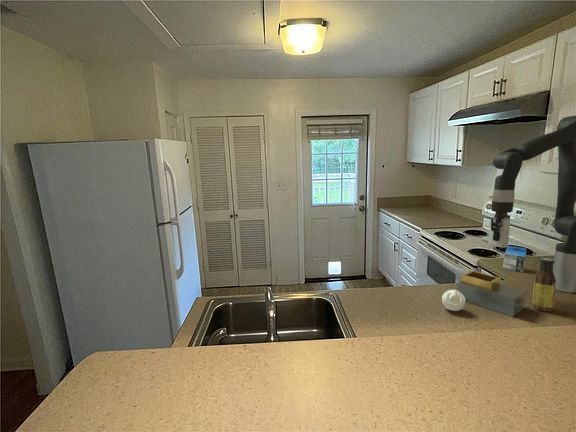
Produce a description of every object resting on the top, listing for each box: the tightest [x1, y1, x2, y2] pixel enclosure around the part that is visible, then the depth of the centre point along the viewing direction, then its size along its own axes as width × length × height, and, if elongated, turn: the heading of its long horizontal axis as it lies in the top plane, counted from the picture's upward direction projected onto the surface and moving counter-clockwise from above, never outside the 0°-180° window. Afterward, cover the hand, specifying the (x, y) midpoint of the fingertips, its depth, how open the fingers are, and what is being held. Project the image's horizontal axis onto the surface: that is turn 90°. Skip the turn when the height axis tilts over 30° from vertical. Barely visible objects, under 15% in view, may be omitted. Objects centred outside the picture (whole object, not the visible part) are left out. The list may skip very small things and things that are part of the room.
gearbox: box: [457, 270, 527, 317], centre depth 123 cm, size 12×20×10 cm, turn 36°
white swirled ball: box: [441, 289, 466, 312], centre depth 117 cm, size 8×8×8 cm
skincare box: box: [488, 217, 511, 249], centre depth 131 cm, size 6×4×12 cm
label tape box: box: [502, 245, 527, 273], centre depth 161 cm, size 9×4×12 cm, turn 43°
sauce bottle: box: [531, 257, 556, 313], centre depth 117 cm, size 7×6×20 cm
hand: (498, 239), depth 131 cm, fingers closed on skincare box, 4 cm apart
